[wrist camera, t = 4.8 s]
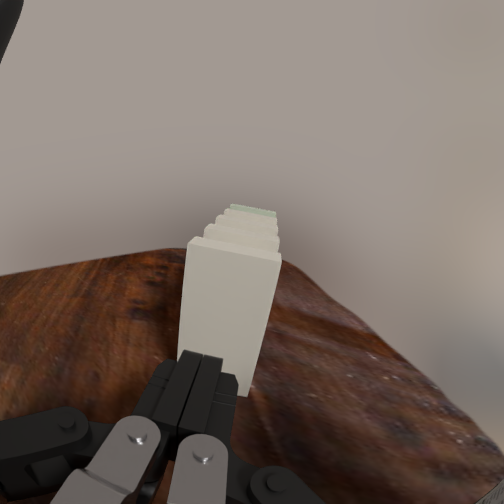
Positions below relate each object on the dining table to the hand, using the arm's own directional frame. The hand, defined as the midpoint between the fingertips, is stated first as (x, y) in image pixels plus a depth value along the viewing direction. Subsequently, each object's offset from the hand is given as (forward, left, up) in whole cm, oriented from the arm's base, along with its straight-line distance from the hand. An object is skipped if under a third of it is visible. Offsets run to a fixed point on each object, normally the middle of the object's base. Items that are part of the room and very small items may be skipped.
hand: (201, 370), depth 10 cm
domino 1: (0, +7, -7) cm, 10 cm away
